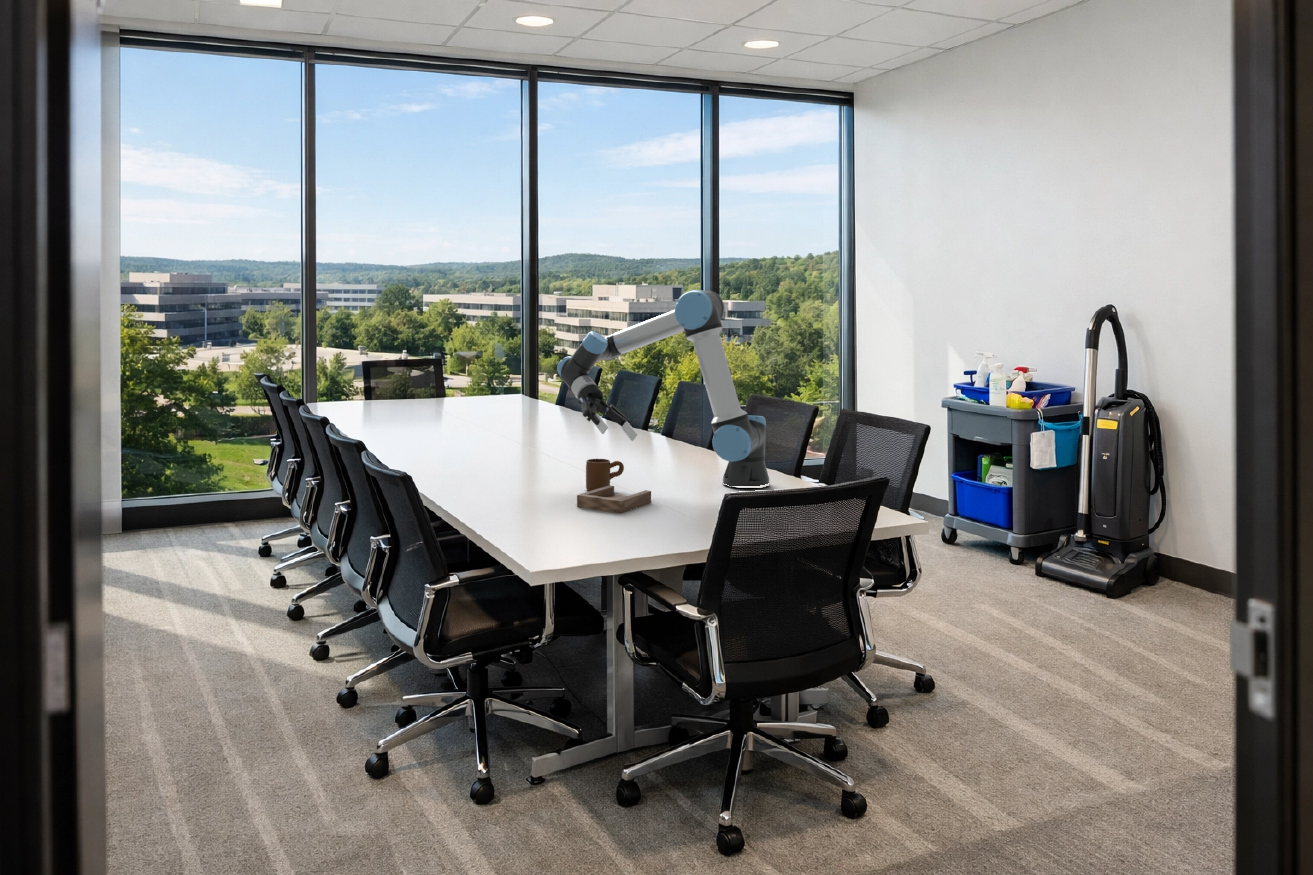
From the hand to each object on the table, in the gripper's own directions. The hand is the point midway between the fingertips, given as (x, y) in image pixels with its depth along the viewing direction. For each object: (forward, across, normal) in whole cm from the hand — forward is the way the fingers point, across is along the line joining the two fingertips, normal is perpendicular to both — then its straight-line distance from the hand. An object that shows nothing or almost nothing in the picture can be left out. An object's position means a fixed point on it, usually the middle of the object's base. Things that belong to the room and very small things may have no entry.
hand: (620, 434), depth 310 cm
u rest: (+22, +9, -11) cm, 26 cm away
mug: (+5, -4, -18) cm, 19 cm away
